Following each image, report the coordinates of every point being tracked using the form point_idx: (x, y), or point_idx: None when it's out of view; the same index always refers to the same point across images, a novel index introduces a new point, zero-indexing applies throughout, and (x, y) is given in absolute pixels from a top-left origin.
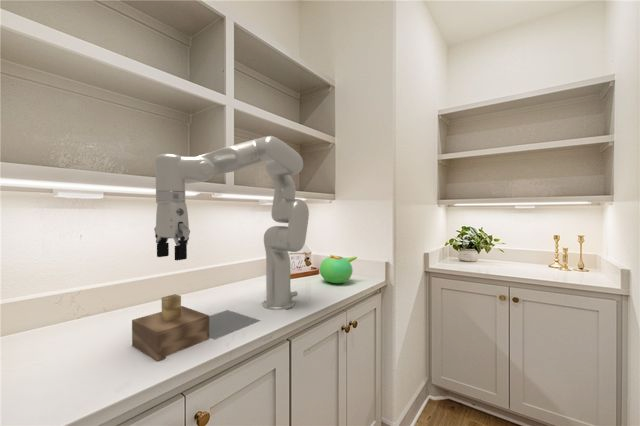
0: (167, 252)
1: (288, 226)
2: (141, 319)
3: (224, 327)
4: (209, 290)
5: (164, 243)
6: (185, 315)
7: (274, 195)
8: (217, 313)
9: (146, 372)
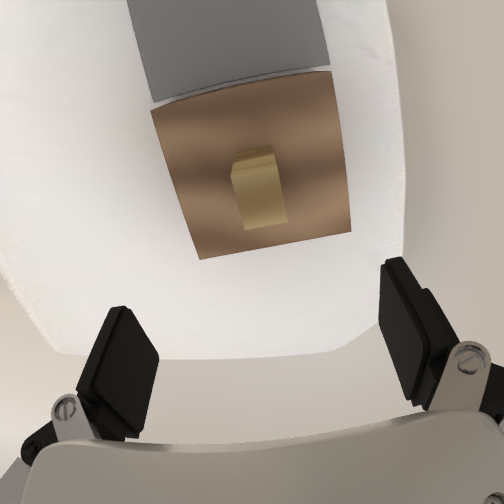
0: (125, 331)
1: None
2: (213, 241)
3: (265, 6)
4: None
5: (112, 409)
6: (270, 130)
7: None
8: None
9: (360, 226)
